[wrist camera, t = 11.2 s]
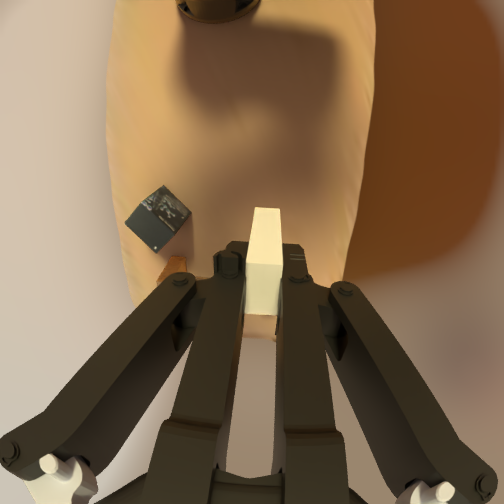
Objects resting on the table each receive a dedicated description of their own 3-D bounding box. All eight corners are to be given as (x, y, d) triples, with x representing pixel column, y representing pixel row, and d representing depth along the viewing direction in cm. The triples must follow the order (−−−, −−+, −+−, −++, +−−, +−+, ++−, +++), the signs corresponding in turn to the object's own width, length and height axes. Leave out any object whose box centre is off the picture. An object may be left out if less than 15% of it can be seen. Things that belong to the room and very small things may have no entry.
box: (192, 211, 52) (175, 235, 43) (174, 229, 54) (155, 255, 45) (164, 183, 50) (140, 201, 40) (147, 203, 52) (122, 224, 42)
